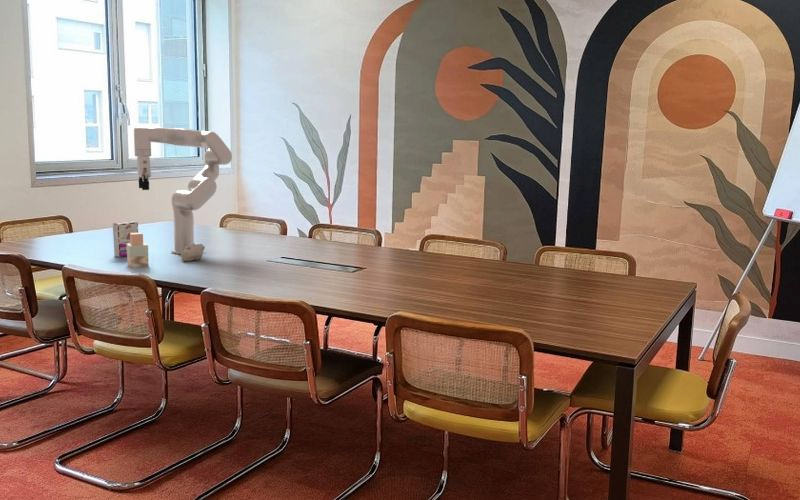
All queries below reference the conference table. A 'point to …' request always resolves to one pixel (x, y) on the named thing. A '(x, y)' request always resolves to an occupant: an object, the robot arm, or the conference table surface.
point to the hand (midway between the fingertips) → (144, 189)
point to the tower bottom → (137, 261)
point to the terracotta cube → (136, 238)
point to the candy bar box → (123, 236)
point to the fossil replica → (192, 252)
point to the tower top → (137, 250)
